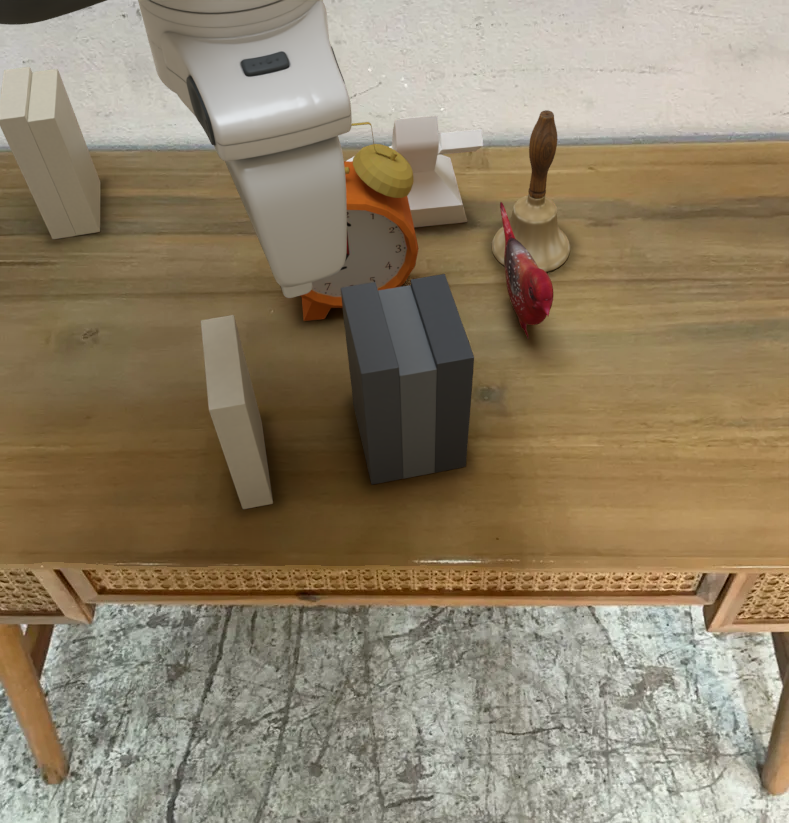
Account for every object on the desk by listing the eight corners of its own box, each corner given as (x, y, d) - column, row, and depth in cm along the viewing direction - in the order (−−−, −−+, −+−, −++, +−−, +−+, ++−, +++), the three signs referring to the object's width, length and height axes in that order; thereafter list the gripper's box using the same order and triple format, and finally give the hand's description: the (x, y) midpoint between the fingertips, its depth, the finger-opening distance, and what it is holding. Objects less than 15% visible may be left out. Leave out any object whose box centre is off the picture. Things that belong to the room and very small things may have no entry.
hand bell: (475, 250, 89) (484, 118, 76) (523, 211, 92) (539, 79, 80) (538, 286, 85) (558, 154, 73) (585, 245, 89) (612, 112, 76)
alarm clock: (288, 327, 83) (255, 158, 67) (285, 284, 87) (253, 114, 71) (419, 312, 84) (419, 141, 68) (411, 270, 87) (408, 98, 71)
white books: (52, 239, 92) (-4, 119, 80) (55, 189, 97) (3, 69, 85) (100, 232, 92) (52, 112, 80) (100, 182, 98) (55, 62, 86)
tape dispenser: (346, 192, 95) (336, 82, 84) (467, 180, 96) (472, 69, 85) (352, 241, 90) (343, 131, 79) (480, 228, 91) (488, 117, 80)
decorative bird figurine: (523, 375, 78) (534, 300, 70) (483, 249, 89) (489, 171, 81) (553, 371, 79) (568, 295, 71) (509, 246, 89) (518, 168, 81)
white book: (242, 509, 70) (208, 410, 59) (233, 425, 76) (200, 320, 65) (273, 504, 71) (245, 403, 59) (261, 420, 76) (233, 314, 65)
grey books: (371, 485, 72) (361, 374, 60) (353, 404, 77) (340, 287, 65) (466, 466, 72) (474, 353, 60) (441, 388, 78) (444, 269, 66)
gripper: (136, -50, 47) (188, 157, 58) (224, 154, 35) (269, 366, 46) (244, -70, 48) (275, 137, 59) (364, 121, 37) (375, 334, 48)
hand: (273, 239), depth 53 cm, fingers open, 8 cm apart
